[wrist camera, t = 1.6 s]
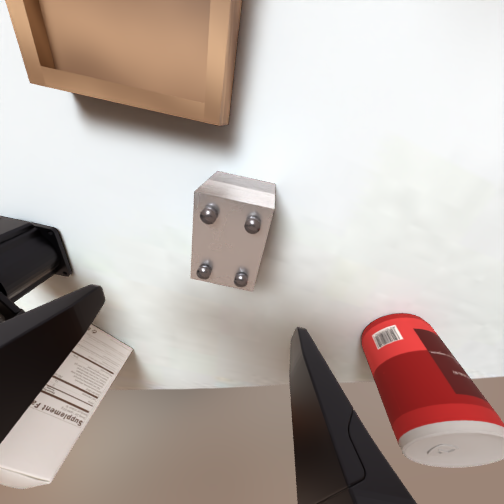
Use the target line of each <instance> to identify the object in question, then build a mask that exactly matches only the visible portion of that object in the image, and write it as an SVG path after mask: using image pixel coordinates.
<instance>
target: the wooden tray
mask: <svg viewBox="0 0 504 504" xmlns="http://www.w3.org/2000/svg"><path fill="white" fill-rule="evenodd" d="M5 1H6V4H7V8H8V11H9V14H10V18H11V21H12V24H13V28H14V31H15V34H16V38H17V41H18V44H19V48H20V51H21V54H22V58H23V61H24V64H25V68H26V71H27V74H28V78H29V81H30V83H32V84H37V85H41V86H45V87H50V88H54V89H59V90H63V91H67V92H72V93H76V94H81V95H85V96H90V97H94V98H98V99H103V100H107V101H112V102H116V103H120V104H125V105H129V106H134V107H138V108H142V109H147V110H151V111H156V112H160V113H165V114H169V115H173V116H178V117H182V118H187V119H191V120H195V121H200V122H204V123H209V124H213V125H217V126H222V125H228V123H229V114H230V105H231V96H232V87H233V78H234V69H235V60H236V51H237V42H238V33H239V24H240V15H241V6H242V0H5Z"/></svg>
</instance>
